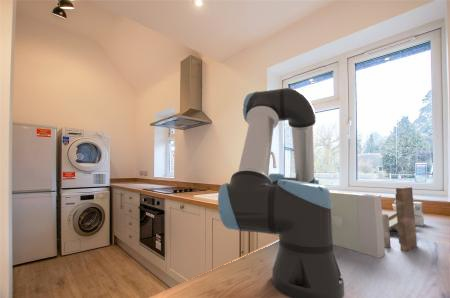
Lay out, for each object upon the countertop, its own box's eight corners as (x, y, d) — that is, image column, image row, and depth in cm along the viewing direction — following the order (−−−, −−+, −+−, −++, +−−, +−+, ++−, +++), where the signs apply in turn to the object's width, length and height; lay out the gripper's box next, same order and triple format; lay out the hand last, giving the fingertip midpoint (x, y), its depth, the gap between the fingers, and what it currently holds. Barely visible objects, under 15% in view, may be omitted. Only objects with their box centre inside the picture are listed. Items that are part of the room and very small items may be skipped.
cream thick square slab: (325, 242, 79) (322, 192, 81) (332, 240, 82) (330, 191, 84) (378, 257, 65) (374, 196, 67) (384, 254, 68) (380, 195, 70)
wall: (402, 248, 85) (428, 222, 86) (383, 230, 87) (409, 204, 89) (378, 242, 101) (401, 219, 102) (363, 226, 103) (385, 205, 104)
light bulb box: (424, 224, 108) (422, 201, 109) (423, 226, 103) (421, 203, 104) (396, 220, 115) (395, 199, 116) (395, 222, 110) (393, 201, 111)
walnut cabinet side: (382, 246, 75) (378, 187, 77) (394, 240, 81) (390, 186, 83) (405, 252, 70) (400, 188, 72) (417, 245, 76) (412, 187, 78)
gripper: (309, 216, 99) (364, 227, 81) (277, 222, 87) (332, 236, 69) (309, 199, 100) (362, 206, 81) (276, 203, 88) (331, 212, 69)
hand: (348, 220), depth 75 cm, fingers open, 9 cm apart
